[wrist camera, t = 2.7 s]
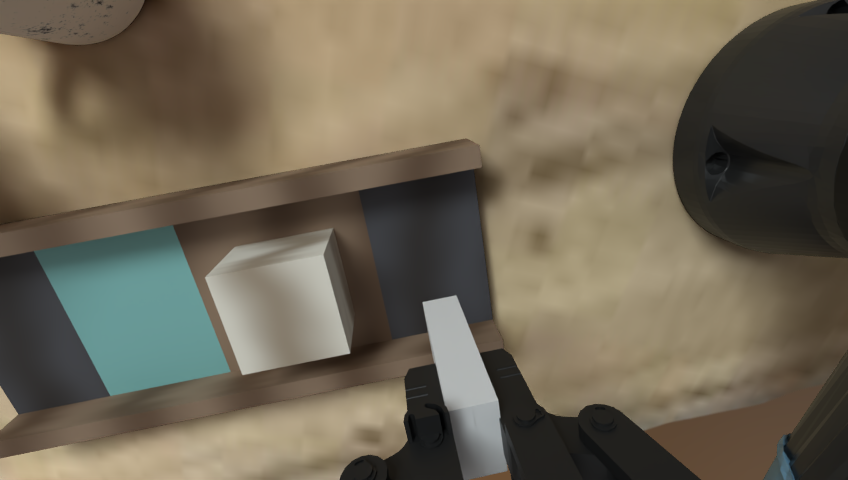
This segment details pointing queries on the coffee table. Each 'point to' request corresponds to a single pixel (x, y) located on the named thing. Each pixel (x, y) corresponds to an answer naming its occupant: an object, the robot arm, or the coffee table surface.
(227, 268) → the birch block
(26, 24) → the teacup with lid
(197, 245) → the channel
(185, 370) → the pad
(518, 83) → the coffee table surface
